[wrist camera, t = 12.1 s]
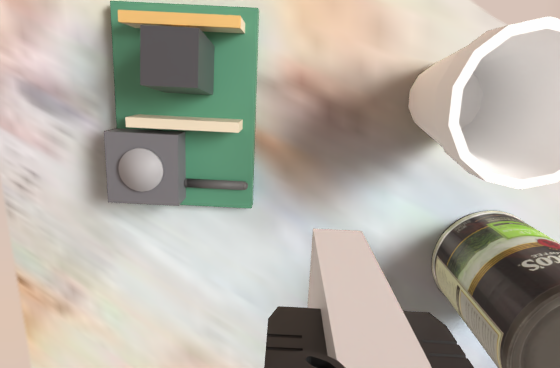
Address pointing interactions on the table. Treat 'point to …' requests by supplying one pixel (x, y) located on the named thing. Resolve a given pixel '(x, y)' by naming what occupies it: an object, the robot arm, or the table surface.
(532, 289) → the coffee can
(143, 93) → the board
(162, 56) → the plug
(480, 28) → the table surface
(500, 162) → the foam cup
